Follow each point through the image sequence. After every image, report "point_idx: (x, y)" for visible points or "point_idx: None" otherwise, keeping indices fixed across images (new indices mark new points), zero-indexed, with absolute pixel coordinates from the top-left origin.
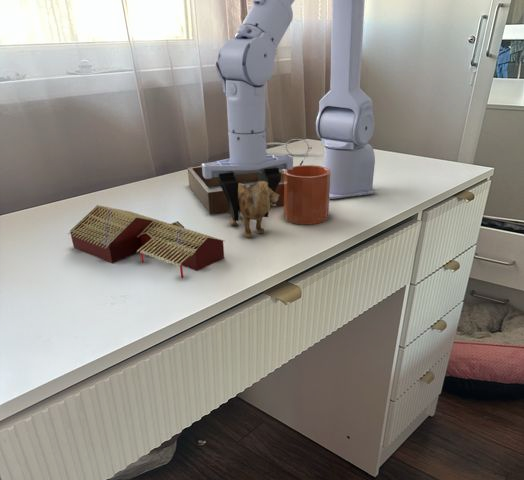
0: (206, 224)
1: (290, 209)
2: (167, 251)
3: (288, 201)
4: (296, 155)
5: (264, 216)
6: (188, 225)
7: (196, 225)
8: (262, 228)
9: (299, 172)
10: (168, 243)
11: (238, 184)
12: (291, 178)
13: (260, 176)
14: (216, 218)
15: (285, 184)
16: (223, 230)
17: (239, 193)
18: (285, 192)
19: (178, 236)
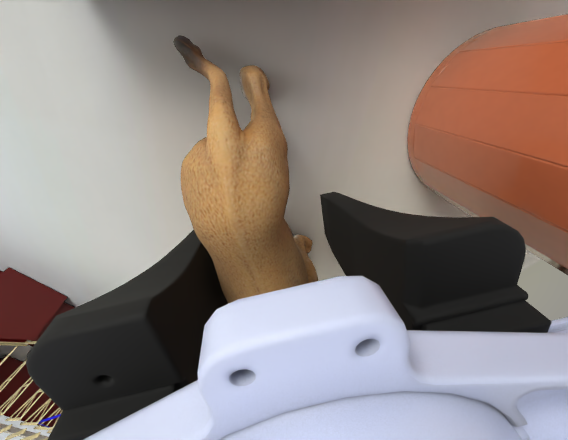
0: (93, 133)
1: (440, 182)
2: (40, 400)
3: (456, 183)
4: None
5: (326, 237)
6: (8, 131)
7: (48, 137)
8: (306, 245)
9: None
10: (35, 437)
11: (234, 230)
12: (560, 254)
13: (393, 286)
14: (125, 57)
15: (517, 179)
16: (175, 206)
17: (236, 297)
18: (482, 164)
19: (24, 297)
